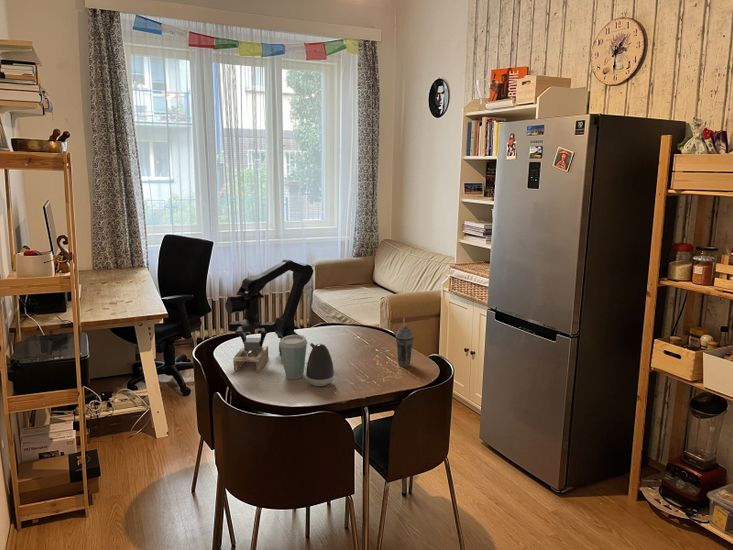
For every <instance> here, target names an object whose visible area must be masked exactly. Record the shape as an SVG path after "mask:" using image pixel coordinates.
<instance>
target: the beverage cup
mask: <svg viewBox="0 0 733 550" xmlns="http://www.w3.org/2000/svg"><path fill="white" fill-rule="evenodd" d="M402 320H403V322H402V323H403V326H402V327H401V328H399V329H398V330H397V331H396V334H395V342H396V350H397V362H398V366H399V367H402V368H408V367H410V364H411V359H412V350H413V343H414V333H413V330H412V329H410V328H409V327H406V325H405V323H406V322H405V317H403V319H402Z"/></svg>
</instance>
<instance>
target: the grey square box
mask: <svg viewBox="0 0 733 550" xmlns="http://www.w3.org/2000/svg"><path fill="white" fill-rule="evenodd" d="M260 341H261V337H246V340H245V341H244V343H243V346H244V350H246V351H249V353H248V354H247V356H248V357H257V355H258V354H256V351H259V350H260V349H261V348H262V347H261V346H260ZM262 346H264V345H262Z"/></svg>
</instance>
